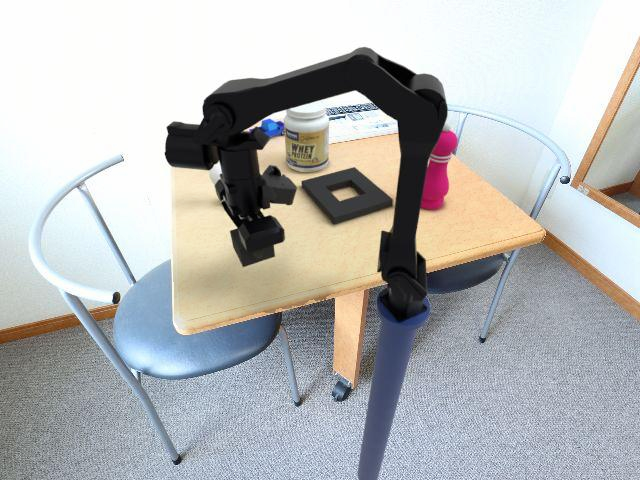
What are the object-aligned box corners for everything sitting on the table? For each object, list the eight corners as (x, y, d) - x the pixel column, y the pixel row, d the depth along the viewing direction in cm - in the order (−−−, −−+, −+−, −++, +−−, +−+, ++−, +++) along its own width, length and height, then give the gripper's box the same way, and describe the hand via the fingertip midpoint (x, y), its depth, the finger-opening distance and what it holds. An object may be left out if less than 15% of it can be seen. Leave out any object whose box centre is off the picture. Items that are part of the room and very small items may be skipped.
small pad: (275, 256, 66) (273, 239, 63) (243, 267, 64) (239, 250, 61) (263, 237, 70) (261, 221, 67) (233, 247, 68) (229, 230, 65)
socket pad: (392, 206, 89) (393, 199, 88) (334, 224, 84) (334, 217, 82) (354, 173, 102) (354, 166, 100) (301, 187, 96) (301, 180, 95)
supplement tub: (281, 171, 103) (275, 111, 92) (293, 152, 112) (290, 95, 101) (323, 176, 100) (323, 115, 89) (332, 156, 109) (333, 98, 99)
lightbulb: (219, 195, 94) (211, 156, 86) (243, 196, 93) (236, 156, 86) (213, 209, 89) (203, 168, 82) (237, 210, 88) (230, 169, 81)
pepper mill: (451, 205, 89) (472, 126, 76) (428, 214, 86) (447, 133, 74) (430, 191, 94) (447, 114, 81) (408, 199, 91) (422, 121, 78)
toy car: (290, 134, 122) (289, 119, 118) (259, 144, 116) (257, 129, 113) (279, 128, 126) (278, 113, 122) (248, 137, 120) (246, 122, 117)
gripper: (314, 186, 53) (316, 265, 63) (268, 137, 65) (276, 209, 75) (239, 207, 49) (253, 287, 59) (206, 150, 62) (222, 224, 72)
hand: (253, 247), depth 66 cm, fingers closed on small pad, 6 cm apart
